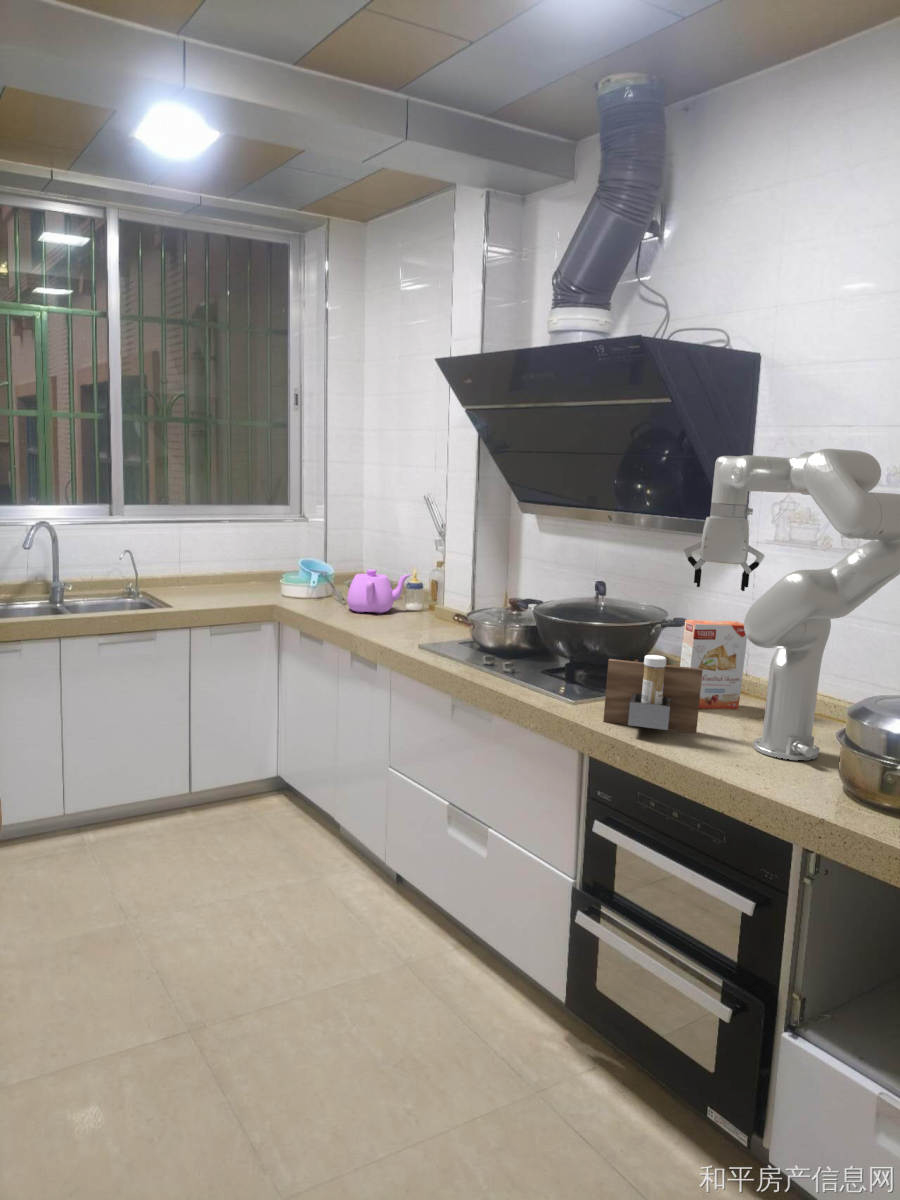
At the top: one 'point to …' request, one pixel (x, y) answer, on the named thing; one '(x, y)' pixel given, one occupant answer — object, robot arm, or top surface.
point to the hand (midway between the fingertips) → (720, 588)
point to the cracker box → (716, 660)
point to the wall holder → (629, 710)
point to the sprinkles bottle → (653, 679)
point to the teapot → (373, 592)
